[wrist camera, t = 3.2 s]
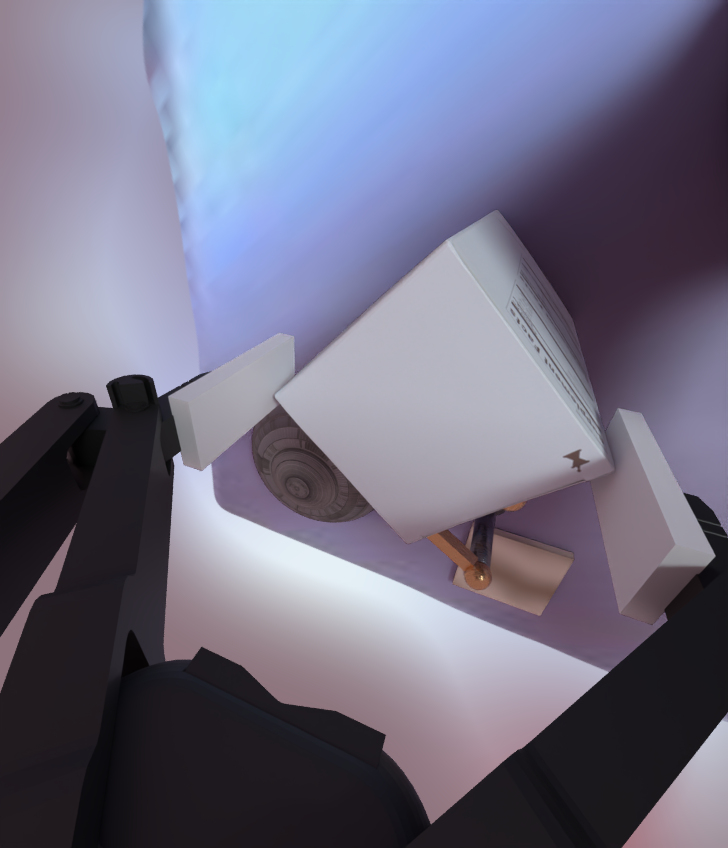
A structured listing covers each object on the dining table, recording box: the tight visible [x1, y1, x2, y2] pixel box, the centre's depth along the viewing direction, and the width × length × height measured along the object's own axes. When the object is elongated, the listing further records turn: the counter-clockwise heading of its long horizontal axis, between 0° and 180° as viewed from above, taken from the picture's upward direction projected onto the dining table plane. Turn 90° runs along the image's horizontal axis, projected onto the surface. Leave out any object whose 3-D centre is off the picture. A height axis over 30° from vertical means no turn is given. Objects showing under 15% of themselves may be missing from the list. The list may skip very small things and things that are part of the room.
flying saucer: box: [252, 404, 374, 522], centre depth 38 cm, size 15×15×6 cm
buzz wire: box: [427, 501, 527, 590], centre depth 29 cm, size 12×10×10 cm
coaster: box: [453, 521, 574, 616], centre depth 38 cm, size 9×9×1 cm
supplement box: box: [275, 210, 615, 544], centre depth 20 cm, size 10×9×17 cm
